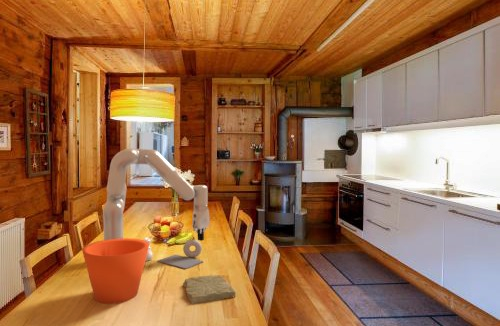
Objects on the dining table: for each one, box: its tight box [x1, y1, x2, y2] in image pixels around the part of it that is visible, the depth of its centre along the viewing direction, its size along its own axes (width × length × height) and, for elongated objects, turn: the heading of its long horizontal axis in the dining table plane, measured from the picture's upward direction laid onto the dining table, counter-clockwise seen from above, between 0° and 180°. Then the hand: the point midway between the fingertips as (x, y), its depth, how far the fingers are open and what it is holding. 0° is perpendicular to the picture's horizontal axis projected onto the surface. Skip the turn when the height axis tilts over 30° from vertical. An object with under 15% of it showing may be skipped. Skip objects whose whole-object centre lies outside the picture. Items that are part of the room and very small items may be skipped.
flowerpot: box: [81, 237, 150, 305], centre depth 141 cm, size 25×25×20 cm
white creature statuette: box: [142, 236, 154, 262], centre depth 187 cm, size 10×9×12 cm
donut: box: [182, 238, 203, 259], centre depth 191 cm, size 10×4×10 cm, turn 101°
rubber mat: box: [157, 254, 204, 270], centre depth 184 cm, size 13×20×1 cm, turn 57°
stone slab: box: [182, 274, 236, 305], centre depth 147 cm, size 19×20×4 cm
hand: (200, 240), depth 196 cm, fingers closed
